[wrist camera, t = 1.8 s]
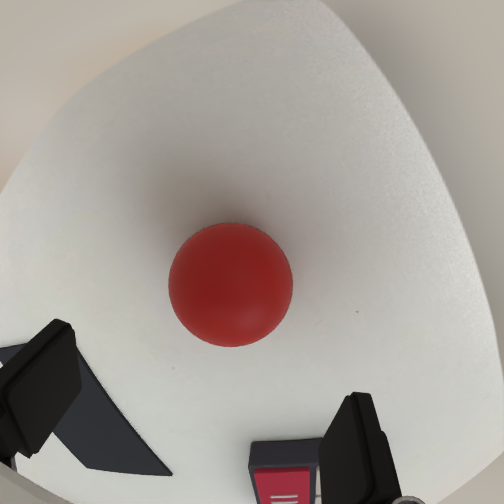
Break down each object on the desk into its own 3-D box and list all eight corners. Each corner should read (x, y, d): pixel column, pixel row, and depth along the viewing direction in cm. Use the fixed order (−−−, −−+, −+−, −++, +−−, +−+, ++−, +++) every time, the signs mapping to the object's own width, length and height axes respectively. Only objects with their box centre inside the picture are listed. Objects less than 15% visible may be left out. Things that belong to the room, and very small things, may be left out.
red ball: (171, 229, 19) (127, 269, 13) (272, 196, 18) (268, 224, 12) (209, 318, 21) (185, 381, 15) (303, 294, 20) (310, 356, 14)
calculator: (379, 461, 20) (358, 526, 24) (370, 426, 25) (354, 499, 29) (246, 472, 22) (263, 533, 26) (251, 436, 26) (265, 506, 30)
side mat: (-5, 348, 26) (-7, 350, 25) (69, 334, 23) (66, 336, 23) (87, 466, 31) (86, 468, 31) (172, 473, 29) (172, 476, 28)
